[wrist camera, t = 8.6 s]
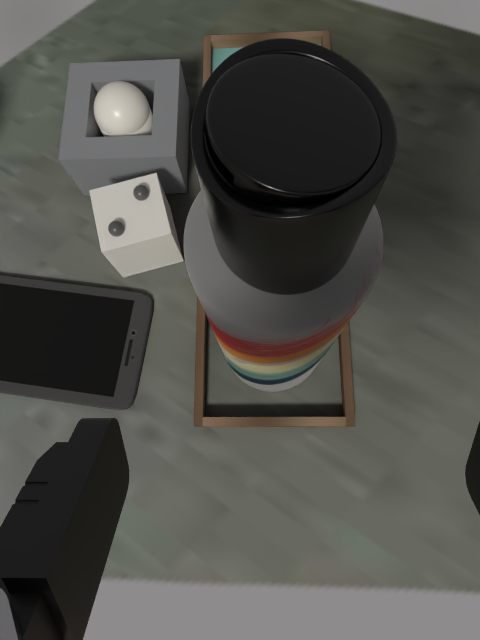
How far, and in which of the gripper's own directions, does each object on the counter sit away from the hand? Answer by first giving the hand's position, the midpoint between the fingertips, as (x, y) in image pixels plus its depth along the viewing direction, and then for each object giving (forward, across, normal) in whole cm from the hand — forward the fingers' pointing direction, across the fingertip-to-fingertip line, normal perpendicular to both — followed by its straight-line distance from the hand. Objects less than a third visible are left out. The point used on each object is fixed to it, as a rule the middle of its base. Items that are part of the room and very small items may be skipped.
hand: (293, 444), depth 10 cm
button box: (+25, +9, -3) cm, 27 cm away
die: (+20, +8, +2) cm, 22 cm away
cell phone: (+16, +15, +7) cm, 23 cm away
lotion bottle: (+15, 0, +8) cm, 17 cm away
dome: (+25, +9, -3) cm, 26 cm away
